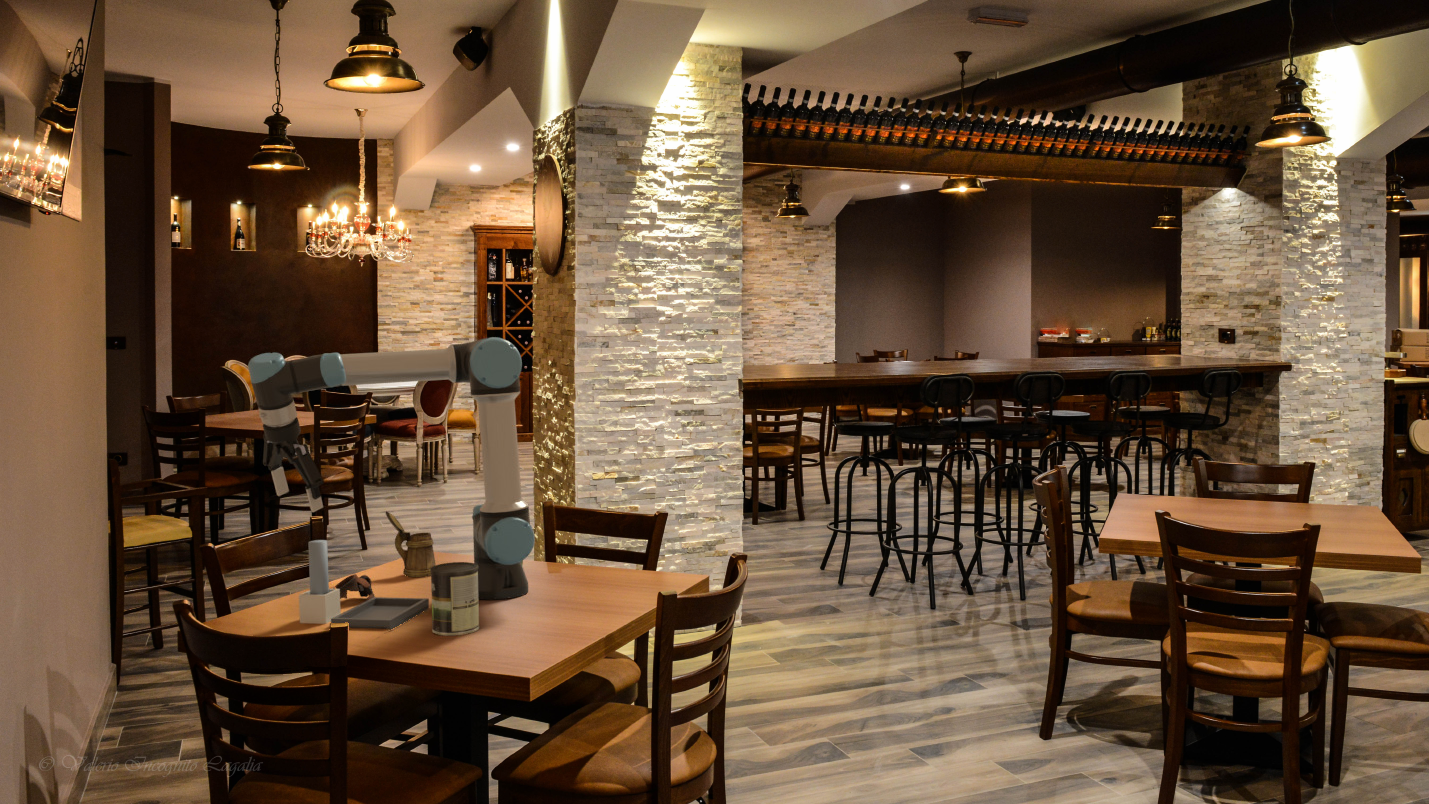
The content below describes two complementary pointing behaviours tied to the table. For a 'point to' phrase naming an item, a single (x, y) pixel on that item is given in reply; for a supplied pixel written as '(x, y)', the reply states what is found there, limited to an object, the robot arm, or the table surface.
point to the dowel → (318, 567)
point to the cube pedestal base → (319, 607)
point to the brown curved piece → (356, 586)
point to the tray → (382, 612)
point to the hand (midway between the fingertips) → (300, 501)
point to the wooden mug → (414, 550)
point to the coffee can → (454, 598)
